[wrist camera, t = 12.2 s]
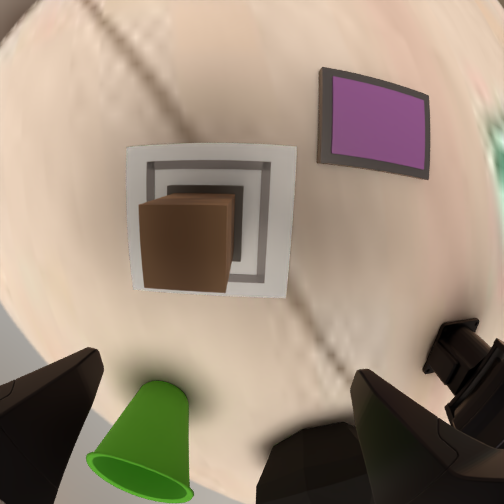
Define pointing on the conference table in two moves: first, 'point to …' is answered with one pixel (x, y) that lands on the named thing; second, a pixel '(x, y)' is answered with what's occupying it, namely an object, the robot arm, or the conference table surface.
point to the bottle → (316, 469)
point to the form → (254, 204)
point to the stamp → (191, 237)
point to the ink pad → (372, 124)
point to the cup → (149, 446)
